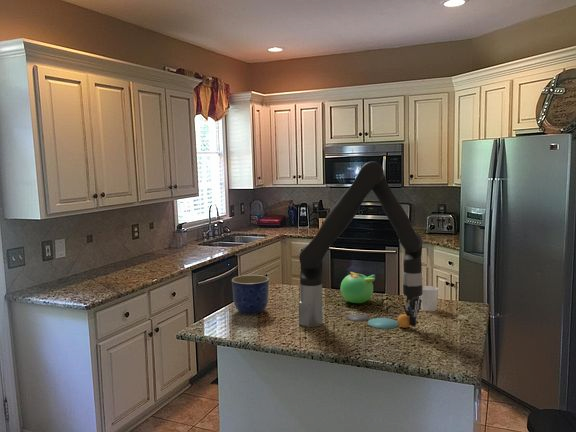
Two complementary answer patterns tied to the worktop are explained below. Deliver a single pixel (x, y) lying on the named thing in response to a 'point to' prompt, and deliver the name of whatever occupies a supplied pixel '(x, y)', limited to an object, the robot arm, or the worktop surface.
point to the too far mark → (358, 318)
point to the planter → (250, 293)
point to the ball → (404, 321)
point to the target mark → (383, 323)
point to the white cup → (429, 298)
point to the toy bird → (357, 287)
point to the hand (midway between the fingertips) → (412, 325)
